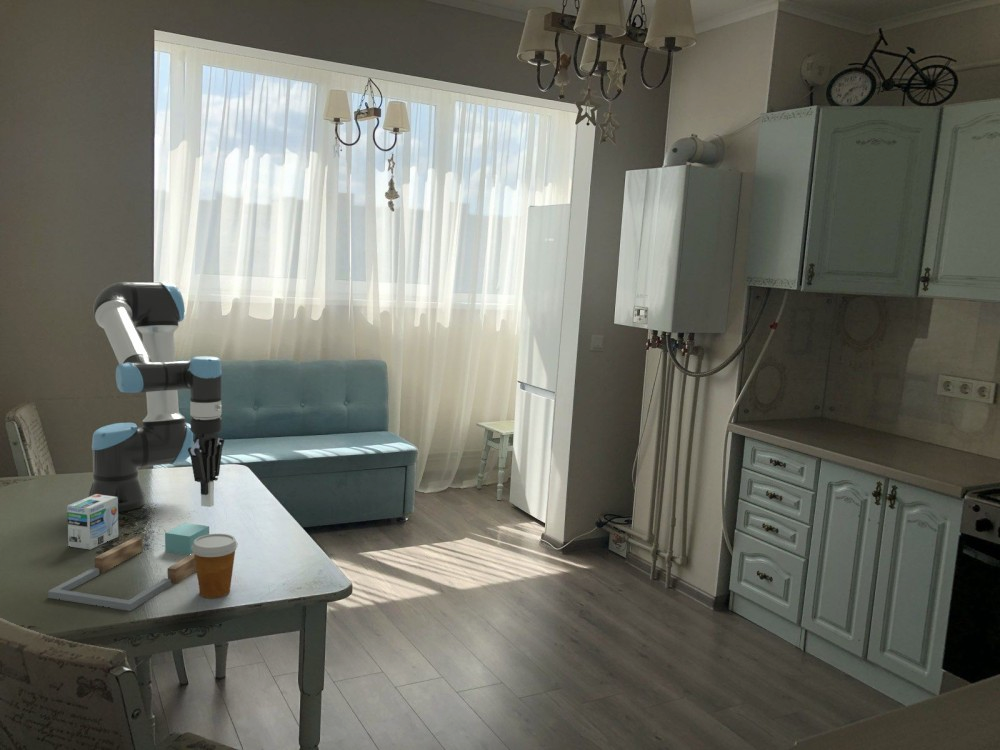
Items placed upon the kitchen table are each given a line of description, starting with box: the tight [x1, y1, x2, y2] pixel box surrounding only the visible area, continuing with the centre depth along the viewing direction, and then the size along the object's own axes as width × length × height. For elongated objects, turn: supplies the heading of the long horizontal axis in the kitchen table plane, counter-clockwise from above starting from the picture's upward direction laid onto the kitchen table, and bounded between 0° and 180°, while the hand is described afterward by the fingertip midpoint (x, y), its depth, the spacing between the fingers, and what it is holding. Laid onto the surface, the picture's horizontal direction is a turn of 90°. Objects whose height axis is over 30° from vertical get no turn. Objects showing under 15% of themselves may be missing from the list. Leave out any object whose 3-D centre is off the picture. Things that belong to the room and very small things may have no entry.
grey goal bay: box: [47, 567, 172, 612], centre depth 171 cm, size 14×20×2 cm
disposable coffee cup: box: [191, 533, 239, 599], centre depth 172 cm, size 10×10×12 cm
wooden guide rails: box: [94, 536, 197, 585], centre depth 185 cm, size 14×21×4 cm, turn 78°
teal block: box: [164, 522, 210, 556], centre depth 198 cm, size 8×7×5 cm
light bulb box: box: [66, 494, 119, 550], centre depth 198 cm, size 11×7×11 cm, turn 168°
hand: (207, 505), depth 205 cm, fingers closed
